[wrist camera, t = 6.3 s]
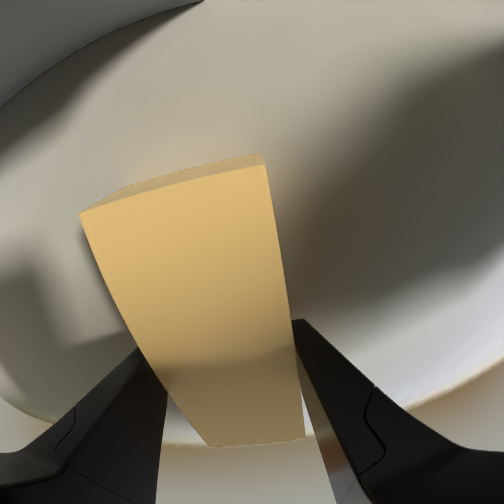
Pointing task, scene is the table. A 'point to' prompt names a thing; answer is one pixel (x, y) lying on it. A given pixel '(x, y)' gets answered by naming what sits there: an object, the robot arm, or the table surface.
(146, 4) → the crate
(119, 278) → the light orange rectangular block
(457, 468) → the robot arm
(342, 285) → the table surface
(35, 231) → the table surface
